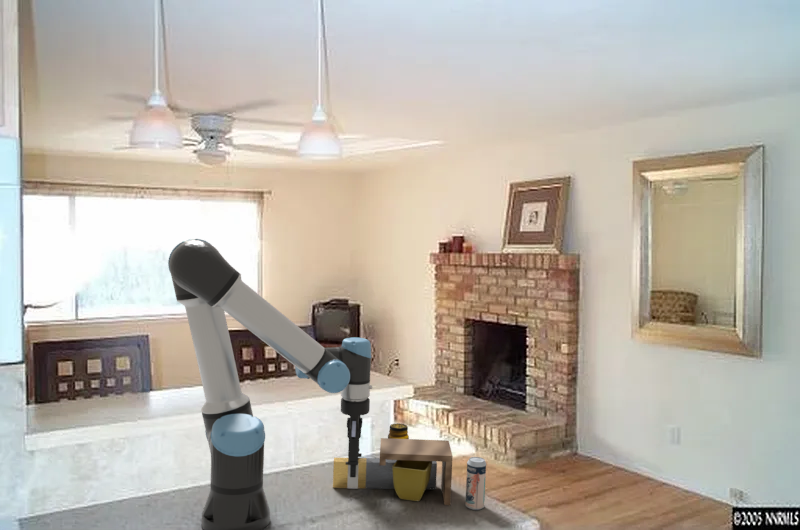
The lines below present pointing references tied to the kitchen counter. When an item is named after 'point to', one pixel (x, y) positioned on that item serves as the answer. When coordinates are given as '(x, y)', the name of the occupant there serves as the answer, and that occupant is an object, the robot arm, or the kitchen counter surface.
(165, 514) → the kitchen counter surface
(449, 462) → the small brown wooden table
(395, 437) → the condiment
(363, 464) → the two-tone wooden bar
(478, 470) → the beer can
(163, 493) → the kitchen counter surface
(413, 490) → the flower pot
